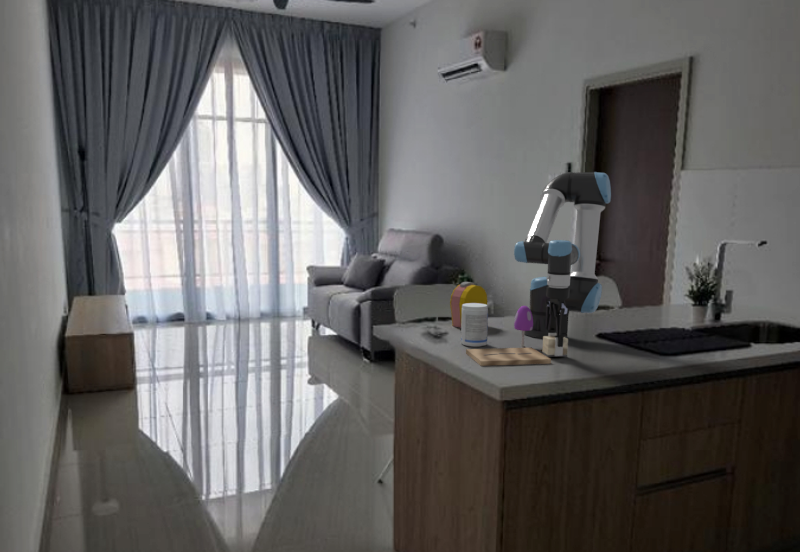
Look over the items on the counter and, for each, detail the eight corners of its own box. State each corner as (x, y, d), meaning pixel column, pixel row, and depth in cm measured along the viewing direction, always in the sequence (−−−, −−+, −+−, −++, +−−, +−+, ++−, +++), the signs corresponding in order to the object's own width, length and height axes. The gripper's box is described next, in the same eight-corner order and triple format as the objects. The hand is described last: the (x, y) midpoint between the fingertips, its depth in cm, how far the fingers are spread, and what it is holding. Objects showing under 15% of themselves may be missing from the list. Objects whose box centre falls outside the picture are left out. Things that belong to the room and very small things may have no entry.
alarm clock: (471, 321, 273) (473, 279, 271) (486, 325, 267) (488, 282, 265) (448, 326, 263) (449, 282, 261) (463, 329, 257) (464, 284, 255)
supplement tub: (492, 345, 230) (493, 305, 228) (472, 348, 225) (473, 307, 223) (475, 340, 238) (476, 301, 236) (455, 343, 233) (456, 303, 231)
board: (531, 351, 222) (531, 347, 222) (550, 363, 207) (551, 358, 207) (466, 353, 218) (466, 348, 217) (480, 365, 202) (481, 360, 202)
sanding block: (561, 352, 219) (562, 335, 218) (567, 356, 214) (568, 338, 214) (542, 353, 217) (543, 336, 217) (547, 356, 213) (548, 339, 212)
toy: (533, 345, 232) (535, 305, 230) (530, 349, 226) (532, 307, 224) (514, 343, 234) (516, 303, 232) (511, 347, 228) (513, 306, 226)
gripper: (537, 282, 220) (534, 347, 224) (559, 290, 203) (556, 361, 207) (557, 282, 222) (554, 346, 225) (580, 290, 205) (577, 360, 208)
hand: (555, 353), depth 216 cm, fingers closed on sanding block, 4 cm apart
